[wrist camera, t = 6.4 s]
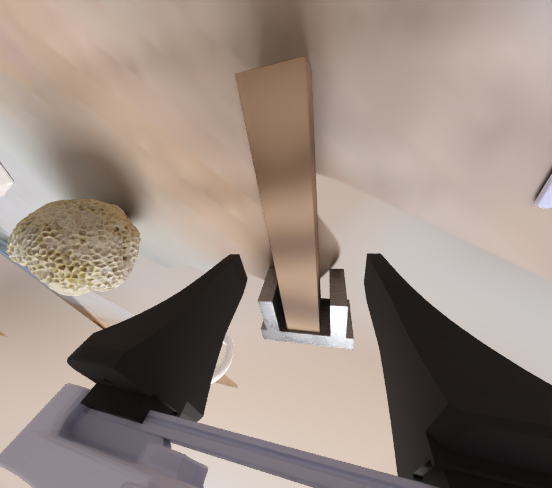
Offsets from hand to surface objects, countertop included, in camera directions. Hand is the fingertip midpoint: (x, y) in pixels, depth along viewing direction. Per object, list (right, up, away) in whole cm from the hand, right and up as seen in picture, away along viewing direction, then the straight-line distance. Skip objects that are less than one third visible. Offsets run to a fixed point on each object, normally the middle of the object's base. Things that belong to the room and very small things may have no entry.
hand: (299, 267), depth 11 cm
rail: (+1, +4, +8) cm, 9 cm away
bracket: (+2, -4, +13) cm, 13 cm away
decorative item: (-19, +4, +13) cm, 24 cm away
